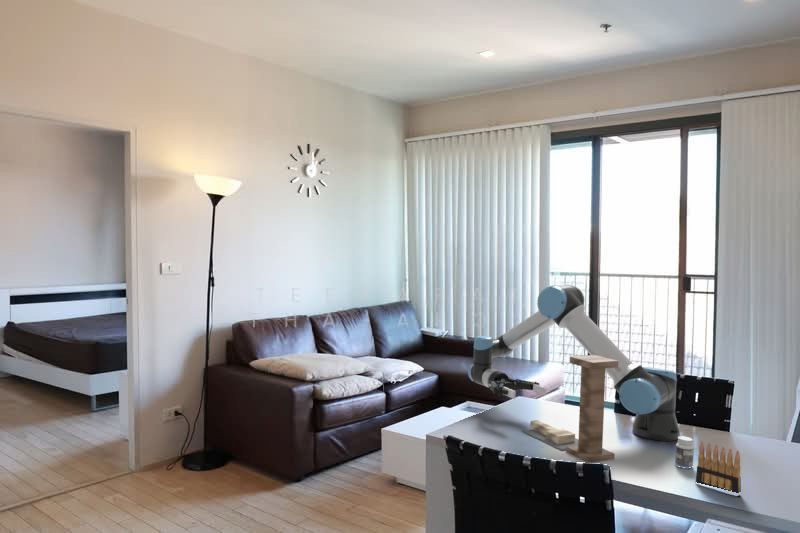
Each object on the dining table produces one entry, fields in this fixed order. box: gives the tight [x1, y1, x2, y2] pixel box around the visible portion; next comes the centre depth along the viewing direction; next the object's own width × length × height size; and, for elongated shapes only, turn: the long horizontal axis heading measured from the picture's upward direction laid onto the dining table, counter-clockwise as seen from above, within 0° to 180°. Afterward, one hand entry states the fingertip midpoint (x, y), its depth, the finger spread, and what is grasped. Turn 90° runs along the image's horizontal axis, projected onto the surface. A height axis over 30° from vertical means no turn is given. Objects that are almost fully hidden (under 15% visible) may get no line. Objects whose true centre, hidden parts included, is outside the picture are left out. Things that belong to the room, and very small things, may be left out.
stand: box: [565, 354, 618, 463], centre depth 176 cm, size 10×10×30 cm
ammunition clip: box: [695, 441, 742, 493], centre depth 152 cm, size 11×2×12 cm, turn 41°
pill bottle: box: [674, 435, 695, 469], centre depth 169 cm, size 5×5×8 cm
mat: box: [521, 428, 579, 452], centre depth 191 cm, size 20×12×1 cm, turn 25°
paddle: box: [529, 419, 576, 444], centre depth 194 cm, size 17×7×2 cm, turn 25°
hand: (530, 393), depth 203 cm, fingers open, 13 cm apart
